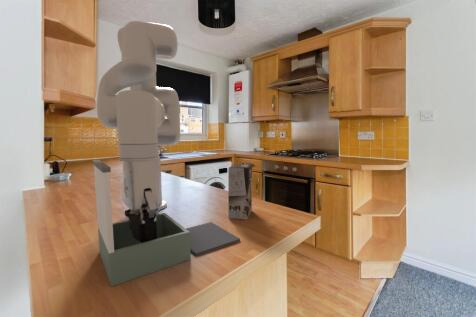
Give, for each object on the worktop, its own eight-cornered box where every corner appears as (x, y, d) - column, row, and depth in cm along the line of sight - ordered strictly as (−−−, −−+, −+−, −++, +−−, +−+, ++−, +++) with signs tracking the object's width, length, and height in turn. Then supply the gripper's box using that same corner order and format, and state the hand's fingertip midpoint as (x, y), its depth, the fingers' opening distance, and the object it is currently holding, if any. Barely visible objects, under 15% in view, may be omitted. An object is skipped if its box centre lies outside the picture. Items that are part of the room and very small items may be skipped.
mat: (171, 234, 63) (171, 232, 63) (211, 223, 70) (211, 221, 70) (196, 256, 51) (195, 253, 51) (240, 241, 59) (240, 238, 59)
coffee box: (248, 219, 73) (248, 167, 71) (227, 218, 74) (227, 167, 73) (252, 210, 82) (252, 164, 80) (234, 209, 83) (234, 163, 81)
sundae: (133, 249, 55) (129, 184, 53) (163, 247, 55) (160, 184, 54) (121, 264, 48) (117, 192, 47) (155, 263, 49) (152, 191, 47)
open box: (98, 252, 53) (92, 159, 51) (165, 235, 62) (162, 155, 60) (109, 287, 41) (102, 167, 39) (190, 259, 50) (188, 161, 48)
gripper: (111, 151, 54) (115, 226, 56) (129, 157, 40) (134, 256, 42) (145, 149, 59) (148, 219, 60) (172, 154, 45) (175, 244, 46)
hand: (142, 233), depth 51 cm, fingers open, 7 cm apart
